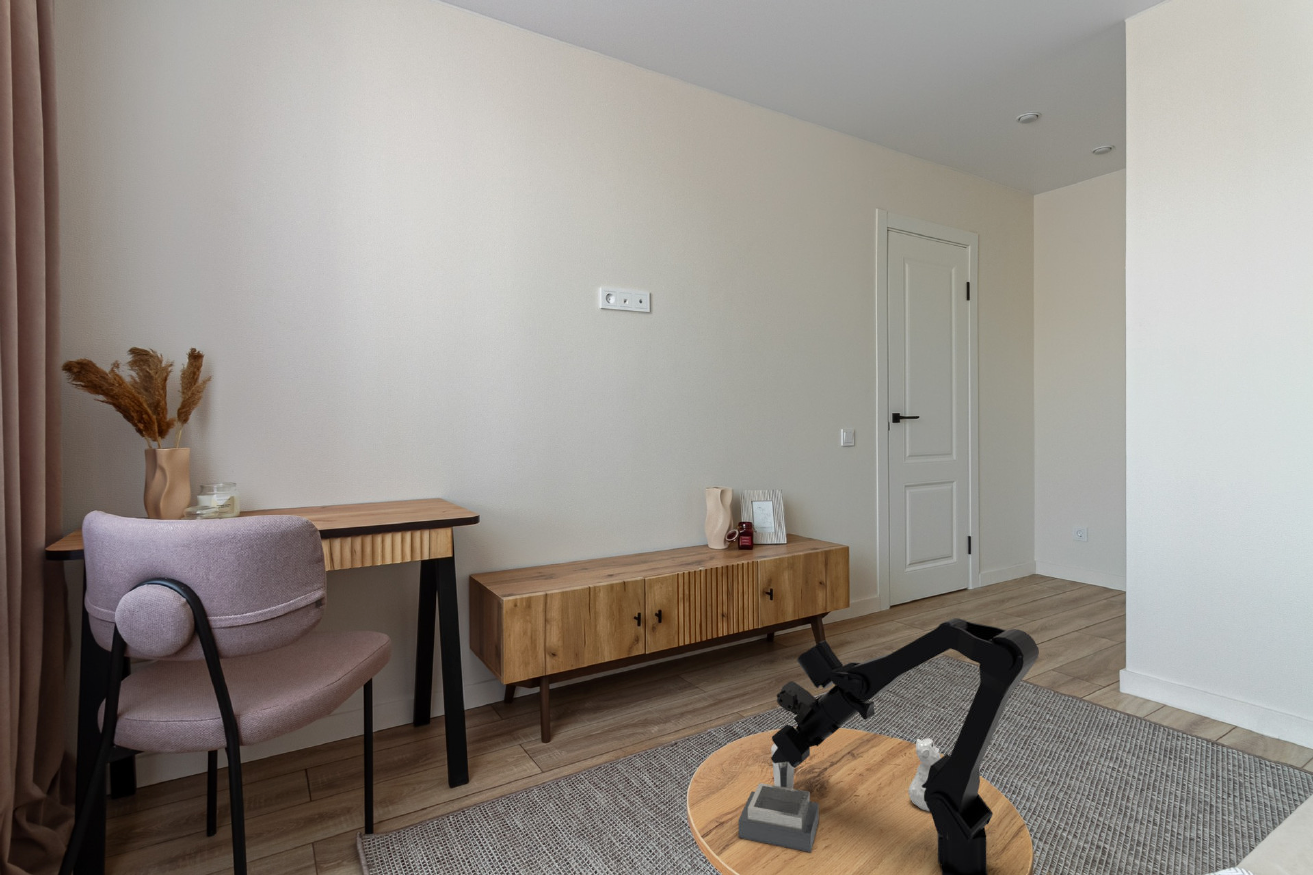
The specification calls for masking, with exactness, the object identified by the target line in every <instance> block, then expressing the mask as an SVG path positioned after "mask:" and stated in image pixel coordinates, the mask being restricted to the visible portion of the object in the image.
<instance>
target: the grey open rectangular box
mask: <svg viewBox="0 0 1313 875" xmlns="http://www.w3.org/2000/svg"><path fill="white" fill-rule="evenodd" d="M810 794H811V792H810V791H807V790H801V789H796V788H793V789H791V788H785V787H779V786H774V785H772V784H767V783H762V782H761V783H760V782H759V783H758V784H757V787H756V789H755V791H754V790H753V791H751V792H750V794H749V795H748V799H747V801H746V803H745V805H744V807H743V809H742V811H741V814H740V815H739V818H738V838H739V839H743V840H748V841H752V842H753V841H754V842H759V843H764V844H769V845H771V846H772V845H773V846H777V847H781V848H782V847H783V848H788V849H791V850H792V849H793V850H798V851H803V852H808V853H811V852H812V849H813V845H814V840H815V837H816V833H817V828H818V825H819V820H820V816H819V814H820V811H819V809H820V807H819V806H820V805H819V802H816V801H815V802H814V801H810V798H811V797H810Z"/></svg>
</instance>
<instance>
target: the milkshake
mask: <svg viewBox="0 0 1313 875" xmlns="http://www.w3.org/2000/svg"><path fill="white" fill-rule="evenodd" d="M770 750H771V751H770V752H771V757H772V756H773V754H774V753H775V751H776V750H777V746H776V745H775V743H774V742H773V744H772V746H771V748H770ZM772 772H773V782H774V783H773V784H774V786H779V787H785V788H791V789H794V782H795V781H794V780H795V768H794V767H792V766H791V765H790V764H789V762H782V763H774V762H773V761H772Z"/></svg>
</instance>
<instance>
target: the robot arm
mask: <svg viewBox="0 0 1313 875" xmlns="http://www.w3.org/2000/svg"><path fill="white" fill-rule="evenodd" d="M949 650H953V651H957V653H960V654H961V655H963V656H964V657H965V658H967V659H969V660H970V661H972V662H975V663H978V664H979V666H978V671H979V686H978V687H977V691H976V693H975V695H974V698H973V700H972V702H971V705H970V707H969V709H968V712H967V715H966V716H965V719H964V721H963V724H962V726H961V729H960V732H959V734H958V736H957V739H956V741H955V744H954V746H953V749H952V750H951V753H950V755H949V754H948V753H946V754H944V755H943V756H942V757H941V758H940V759H939V760H938V761H936V762H935V763H934V764H932V765H931V767H930V769H929V774H928V778H927V781H926V782H925V783H924V784H923V785H922V788H926V789H925V792H924V801H925V802H926V804H927V807H928V809H929V810H930V811H929V812H930V815H931V818H932V819H933V822H934V823H933V824H934V826H935V829H936V833H937V863H938V864H939V865H941V867H940V868H941V875H988V868H987V865H988V864H987V834H986V829H985V827H986V826H987V825H989V824H990V822H991V821H992V820H991V819H992V817H993V814H994V813H993V811H992V810H991V808H990V807H989V806H988V804H986V802H985V800H984V799H983V798H982V797H981V795H980V794H979V788H980V783H981V777H980V776H981V775H980V768H981V767H980V766H981V764H982V763H983V759H984V757H985V755H986V752H987V750H988V747H989V745H990V743H991V741H992V738H993V736H994V733H995V732H996V729H997V727H998V725H999V722H1000V719H1001V718H1002V715H1003V713H1004V711H1005V708H1006V706H1007V703H1008V701H1009V698H1010V696H1011V694H1012V693H1013V691H1014V690H1015V689H1016V687H1017V686H1018V685H1019V684H1020V682H1022V680H1023V679H1024V678H1025V677H1026V675H1027V674H1028V672H1029V671H1030V670H1031V669H1032V667H1033V666H1034V665H1035V664H1036V662H1037V660H1038V659H1039V654H1040V652H1039V651H1040V650H1039V647H1038V645H1037V643H1036V641H1035V639H1033V637H1032V636H1031V635H1030V634H1028V633H1027V632H1026V631H1023V630H1020V629H1019V628H1018V629H1016V628H1011V629H1007V630H1006V629H1004V628H1001V627H997V626H992V625H988V624H982V623H981V624H980V623H975V622H972V621H969V620H966V619H962V618H960V617H958V618H957V617H953V618H950V619H948V620H946V621H943V622H941V623H940V624H939V625H938V626H937V627H935V628H934V629H933V630H930V631H929V632H927V633H925V634H923V635H922V636H919V637H918V638H917V639H915V640H912V641H911V642H909V643H907V644H905V645H903V647H900V648H899V649H896V650H895V651H894V652H891V653H887V654H884V655H880V656H876V657H873V658H870V659H868V660H866V661H862V662H854V661H851V662H848V663H846V664H844V665H843V663H842V662H841V661H840V659H839V658H838V656H837V655H836V654H835V653H834V651H833V650H832V647H831V646H830V644H829V643H828V642H827V640H822V641H819V642H818V643H817V644H816V645H814V646H813V647H811V648H809V649H808V650H806V651H805V652H803V653H801V654H800V655H799V656H798V658H797V659H796V662H797V664H798V665H799V666H800V668H801V669H802V670H803V672H804V674H805V675H807V676H806V677H808V679H809V680H810V682H811V683H812V684H813V686H814V687H815V688H816V689H819V688H820V687H821V688H822V689H823V690H826V689H828V688H830V687H831V686H832V685H834V686H833V687H831V688H830V689H828V691H827V692H826V693H825V694H823V695H819V696H818V698H816V697H815V696H814V695H813V694H812V693H811V692H810V691H808V690H806V689H805V688H804V687H803V686H801V685H800V684H798V683H797V682H795V681H791V680H790V681H788V682H787V683H785V684H784V685H782V687H781V689H780V692H778V693H777V694H776V702H777V704H778V706H780V707H781V708H782V709H784V710H785V711H787V712H790V713H792V714H793V715H796V716H795V717H793V720H794V722H795V723H796V724H797V726H796V727H794V726H793V725H789V724H785V725H784V726H783V727H782V728H780V729H779V730H778V731H777V732H776V733H774V734H773V735H772V736H771V740H772V743H773V744H774V743H775V745H776V746H777V750H776V751H775V753H774V754H773V756H772V755H771V757H770V759H771V761H772V763H773V762H774V763H782V762H789V764H790V765H791V766H792V767H794V769H796V768H798V766H800V765H801V764H802V763H803V762H804V761H805V760H807V758H809V757H810V755H811V752H810V751H811V747H819V746H820V745H821V744H823V743H824V741H825V740H826V739H827V738H829V737H830V736H832V735H833V734H835V732H837V731H838V730H839V729H840V728H841V727H842V726H843V725H845V724H846V722H848V721H849V720H851V719H852V718H853V717H855V716H856V714H859V715H860V717H861V718H862V719H863V720H869V719H870V718H872V717H874V716H875V708H874V706H875V701H873V700H872V699H874V698H876V697H878V696H879V695H881V694H883V693H884V692H886V691H888V690H889V689H890V688H891V687H892V686H894V685H895V684H896V683H897V682H898V681H900V680H901V678H902V677H903V676H905V674H907V673H908V672H909V671H911V670H913V669H915V668H917V667H919V666H921V665H922V664H924V663H926V662H928V661H930V660H932V659H934V658H935V657H937V656H939V655H941V654H943V653H946V652H947V651H949Z"/></svg>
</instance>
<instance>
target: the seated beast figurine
mask: <svg viewBox="0 0 1313 875" xmlns="http://www.w3.org/2000/svg"><path fill="white" fill-rule="evenodd" d="M914 746H915V753H916V755H917V758H918V759H919V762H920V764H919V765H918V767H917V768H916V773H915V774H914V775H915V776H914V777H913V779H912V780H911V783H910V785H909V786H908V791H907V792H908V795H909V798H910V800H911V802H912V803H913V804H914V805H915V806H917V807H918V808H920V810H922V811H926V812H930V810H929V809H928V807H927V804H926V802H925V801H924V792H925V789H926V788H922V785H923V784H924V783H925V782H926V781H927V778H928V774H929V769H930V767H931V765H932V764H934V763H935V762H936V761H938V760H939V759H940V758H942V757H941V753H940V748H938V747H937V746H935V743H934V740H933V739H931V738H930V737H928V738H927V737H925V738H923V739H920V738H917V739H916V743H915V745H914Z"/></svg>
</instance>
